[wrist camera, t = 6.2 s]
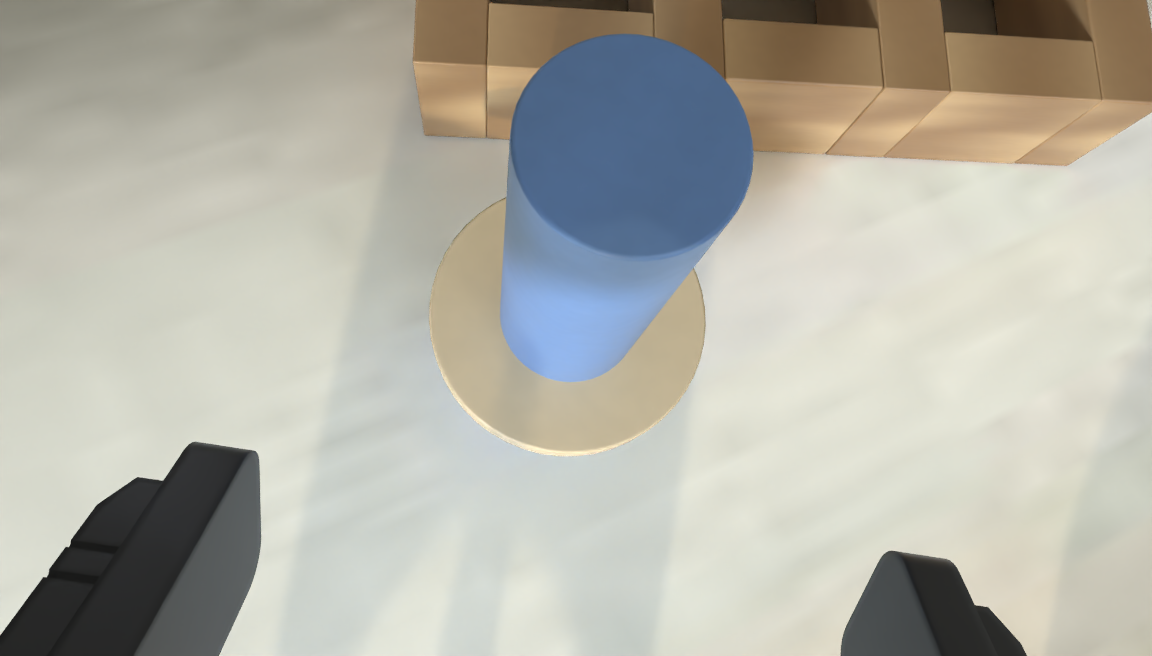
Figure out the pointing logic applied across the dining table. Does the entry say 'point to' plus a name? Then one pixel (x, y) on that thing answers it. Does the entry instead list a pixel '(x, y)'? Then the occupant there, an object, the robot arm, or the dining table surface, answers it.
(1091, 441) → the dining table surface
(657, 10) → the rack
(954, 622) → the robot arm
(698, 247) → the peg
